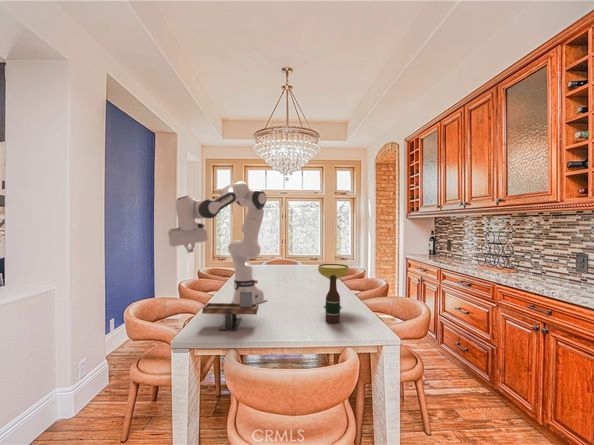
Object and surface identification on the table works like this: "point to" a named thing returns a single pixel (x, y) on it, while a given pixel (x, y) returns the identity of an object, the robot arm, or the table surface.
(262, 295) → the robot arm
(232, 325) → the pivot stand
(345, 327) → the table surface
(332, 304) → the beer bottle
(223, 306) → the balance beam
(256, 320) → the table surface
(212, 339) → the table surface
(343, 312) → the table surface
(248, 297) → the block
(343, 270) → the cocktail glass
